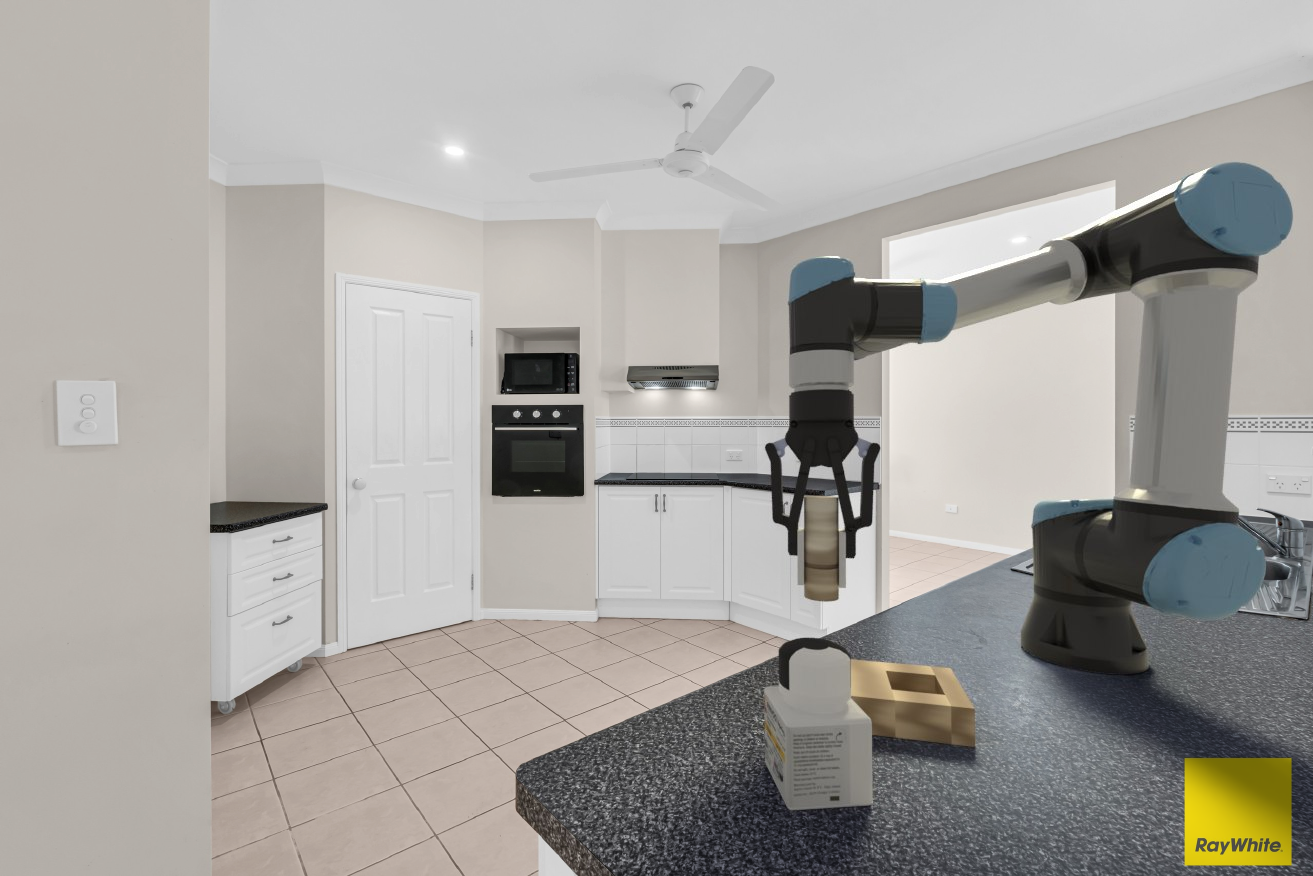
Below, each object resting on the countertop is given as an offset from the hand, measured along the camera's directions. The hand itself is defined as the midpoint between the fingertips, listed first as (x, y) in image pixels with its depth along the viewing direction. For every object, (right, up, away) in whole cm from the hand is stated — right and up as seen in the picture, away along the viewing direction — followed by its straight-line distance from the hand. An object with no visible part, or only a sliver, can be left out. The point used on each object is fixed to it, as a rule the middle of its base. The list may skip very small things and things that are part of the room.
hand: (821, 583), depth 69 cm
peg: (0, -2, 0) cm, 2 cm away
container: (-5, -15, -15) cm, 22 cm away
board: (+5, -15, -1) cm, 16 cm away
